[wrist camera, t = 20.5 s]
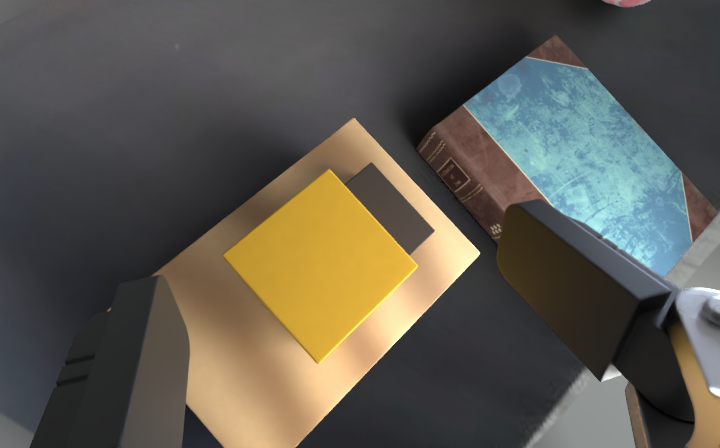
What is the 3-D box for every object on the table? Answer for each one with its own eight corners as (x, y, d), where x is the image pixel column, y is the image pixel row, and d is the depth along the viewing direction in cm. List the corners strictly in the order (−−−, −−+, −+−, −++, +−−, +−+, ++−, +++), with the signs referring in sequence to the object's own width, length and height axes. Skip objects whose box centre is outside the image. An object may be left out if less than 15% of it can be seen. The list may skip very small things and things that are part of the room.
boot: (307, 346, 22) (317, 365, 14) (246, 277, 22) (220, 254, 14) (418, 240, 24) (483, 202, 16) (362, 179, 24) (398, 111, 16)
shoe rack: (269, 426, 31) (257, 487, 20) (169, 312, 31) (105, 310, 20) (423, 271, 35) (481, 253, 25) (335, 175, 36) (353, 116, 25)
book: (412, 151, 38) (430, 128, 33) (527, 63, 43) (557, 32, 38) (570, 335, 37) (612, 338, 32) (670, 223, 41) (720, 211, 37)
